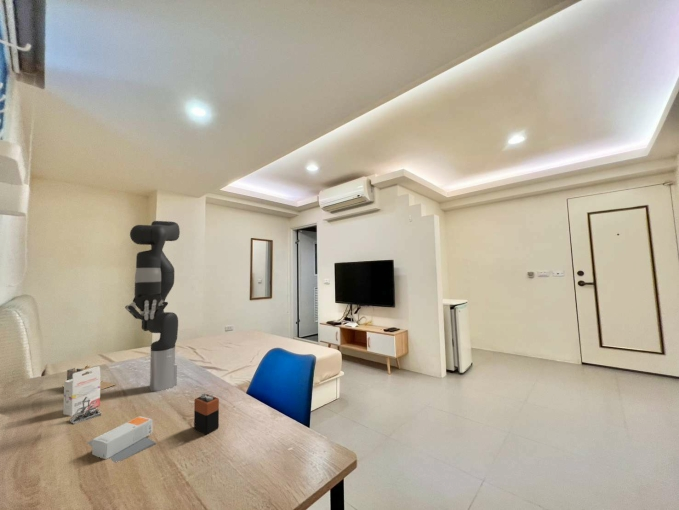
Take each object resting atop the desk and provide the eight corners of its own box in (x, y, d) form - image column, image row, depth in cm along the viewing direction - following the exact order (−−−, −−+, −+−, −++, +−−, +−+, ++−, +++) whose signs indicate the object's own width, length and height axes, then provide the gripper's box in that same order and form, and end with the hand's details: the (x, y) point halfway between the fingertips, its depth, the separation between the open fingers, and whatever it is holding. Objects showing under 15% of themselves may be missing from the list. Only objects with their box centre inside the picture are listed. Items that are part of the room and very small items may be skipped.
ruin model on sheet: (116, 384, 119) (117, 362, 119) (68, 401, 103) (69, 375, 104) (85, 377, 128) (85, 357, 128) (36, 392, 113) (37, 368, 113)
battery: (206, 435, 78) (206, 400, 79) (193, 429, 81) (193, 395, 82) (219, 428, 82) (219, 395, 82) (206, 422, 85) (207, 390, 86)
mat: (124, 428, 83) (125, 426, 83) (155, 444, 74) (155, 442, 74) (68, 453, 71) (68, 451, 72) (96, 476, 63) (96, 473, 63)
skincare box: (153, 418, 79) (106, 443, 68) (153, 433, 79) (105, 460, 67) (139, 415, 81) (91, 439, 70) (139, 429, 81) (91, 455, 70)
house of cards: (98, 408, 97) (99, 387, 97) (107, 414, 92) (108, 392, 93) (64, 420, 89) (65, 397, 90) (72, 427, 85) (73, 403, 85)
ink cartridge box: (91, 403, 100) (93, 364, 101) (100, 405, 98) (101, 365, 99) (62, 415, 92) (64, 372, 93) (70, 417, 90) (72, 373, 91)
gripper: (162, 280, 100) (161, 326, 99) (120, 281, 89) (119, 333, 88) (173, 280, 97) (172, 327, 96) (131, 281, 85) (130, 335, 84)
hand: (147, 330), depth 92 cm, fingers closed
